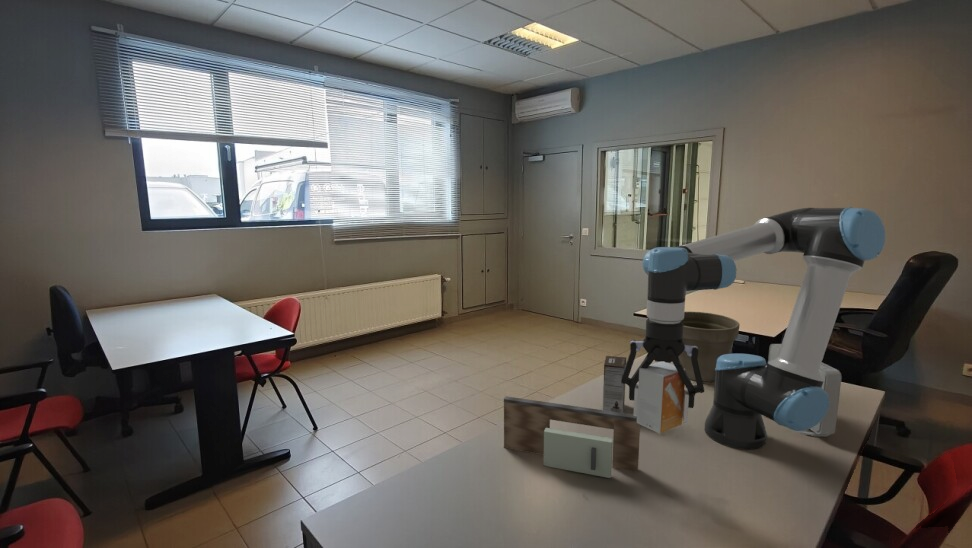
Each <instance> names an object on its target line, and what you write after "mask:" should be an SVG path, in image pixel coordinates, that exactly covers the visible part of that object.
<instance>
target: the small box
mask: <svg viewBox="0 0 972 548" xmlns="http://www.w3.org/2000/svg"><path fill="white" fill-rule="evenodd" d="M638 368H639V367H638ZM684 370H685V371H686V369H684ZM638 384H639V386H638V407H637V423H638V424H640V426H642V427H644V428H646V429H648V430H651V431H654V432H655V433H657V434H659V435H661V434H663V433H665V432H667V431H669V430H672V429H674V428H677V427H678V426H681V425H682V424H683V401H684V390H685V388H686V386H685V384H684V382H683V380H682V379H681V377H680V375H679V373H678V371H677V369H676V367H675V366H674V364H673V363H666V362H664V361H661V362H655V363H651V365H649V367H648V368H647V369H646V368H639V381H638Z"/></svg>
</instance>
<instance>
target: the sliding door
mask: <svg viewBox="0 0 972 548" xmlns="http://www.w3.org/2000/svg"><path fill="white" fill-rule="evenodd" d="M612 461H613V438H612V437H607V436H599V435H593V434H587V433H580V432H575V431H570V430H563V429H557V428H551V427H550V428H545V430H544V455H543V466H545V467H548V468H549V467H550V468H555V469H560V470H565V471H570V472H576V473H583V474H587V475H592V476H598V477H602V478H608V479H611V478H612Z"/></svg>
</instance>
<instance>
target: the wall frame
mask: <svg viewBox="0 0 972 548" xmlns="http://www.w3.org/2000/svg"><path fill="white" fill-rule="evenodd" d="M551 421H556V422H557V421H558V422H562V423H563V422H564V423H570V424H576V425H583V426H588V427H589V426H590V427H597V428H601V429H608V430H613V440H612V466H611V468H613V469H619V470H624V471H631V472H635V473H636V472H637V473H638V472H639V459H640V458H639V457H640V437H641V435H640V433H641V425H640V424H638V423H637V416H634V413H625V412H624V413H619V412H612V411H605V410H603V409H598V408H591V407H583V406H575V405H570V404H562V403H555V402H549V401H542V400H541V401H540V400H535V399H533V400H532V399H527V398H519V397H513V396H504V398H503V448H504V449H511V450H515V451H522V452H526V453H532V454H537V455H543V456H544V430H545V428H551Z"/></svg>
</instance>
